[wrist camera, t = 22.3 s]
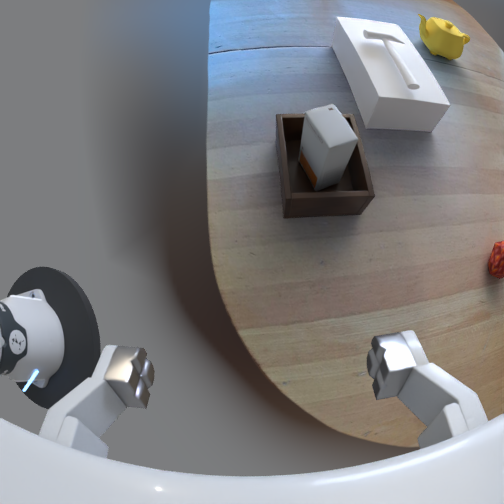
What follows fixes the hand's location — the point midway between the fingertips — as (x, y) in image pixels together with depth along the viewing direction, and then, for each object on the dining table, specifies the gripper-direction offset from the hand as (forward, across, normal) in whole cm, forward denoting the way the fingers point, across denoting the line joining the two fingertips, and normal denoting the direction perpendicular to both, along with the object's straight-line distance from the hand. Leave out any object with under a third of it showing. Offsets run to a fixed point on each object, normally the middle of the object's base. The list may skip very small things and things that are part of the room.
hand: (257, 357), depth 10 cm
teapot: (+66, -50, -24) cm, 86 cm away
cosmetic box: (+36, -9, +4) cm, 38 cm away
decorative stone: (+25, -41, +16) cm, 51 cm away
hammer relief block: (+52, -26, -10) cm, 59 cm away
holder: (+36, -9, +5) cm, 38 cm away
